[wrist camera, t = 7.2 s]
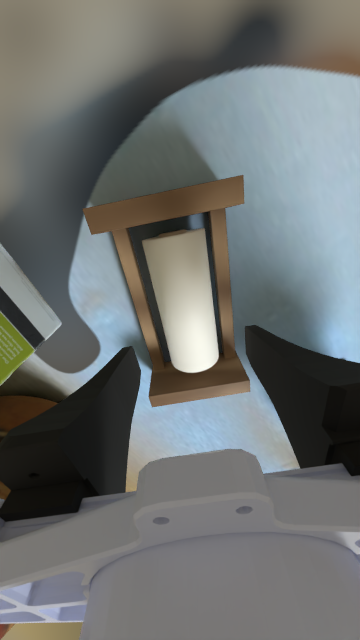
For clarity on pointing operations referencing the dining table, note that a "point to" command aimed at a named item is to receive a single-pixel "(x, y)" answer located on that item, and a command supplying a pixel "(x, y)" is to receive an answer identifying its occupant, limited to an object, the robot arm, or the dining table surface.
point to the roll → (184, 297)
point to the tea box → (20, 317)
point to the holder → (214, 199)
